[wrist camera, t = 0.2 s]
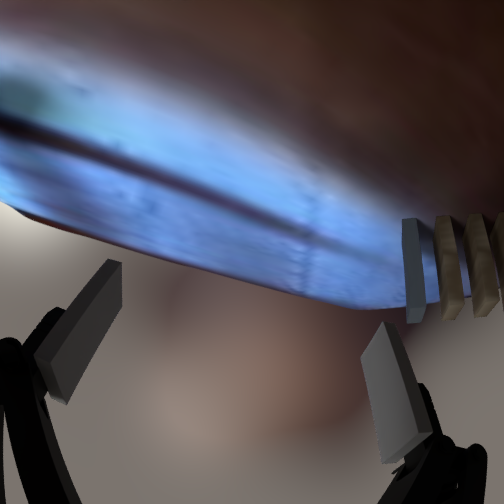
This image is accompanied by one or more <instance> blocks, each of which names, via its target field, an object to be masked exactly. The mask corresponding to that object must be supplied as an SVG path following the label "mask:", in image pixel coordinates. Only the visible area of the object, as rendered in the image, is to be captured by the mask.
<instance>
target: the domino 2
mask: <svg viewBox="0 0 504 504" xmlns="http://www.w3.org/2000/svg"><path fill="white" fill-rule="evenodd" d="M432 241H433V247H434V254H435V261H436V268H437V276H438V285H439V295H440V307H441V320H442V321H446V320H455V318H456V317H457V315H458V314H459V312H460V311H461V309H462V308H463V306H464V304H465V302H464V293H463V285H462V278H461V271H460V265H459V259H458V253H457V248H456V243H455V238H454V233H453V228H452V223H451V219H450V216H437V217H436V223H435V229H434V235H433V240H432Z"/></svg>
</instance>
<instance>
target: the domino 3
mask: <svg viewBox="0 0 504 504" xmlns="http://www.w3.org/2000/svg"><path fill="white" fill-rule="evenodd" d="M462 241H463V246H464V251H465V256H466V262H467V268H468V274H469V280H470V287H471V295H472V302H473V312H474V318H476V317H485V316H487V315H488V314H489V313H490V311H491V310H492V309H493V308H494V307H495V305H496V304H497V303H498V302H499V301H500V297H499V291H498V285H497V279H496V273H495V268H494V263H493V258H492V254H491V249H490V245H489V241H488V237H487V233H486V229H485V225H484V221H483V218H482V214H481V213H480V214H469V216H468V219H467V223H466V226H465V230H464V233H463V236H462Z"/></svg>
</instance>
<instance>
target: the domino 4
mask: <svg viewBox="0 0 504 504" xmlns="http://www.w3.org/2000/svg"><path fill="white" fill-rule="evenodd" d="M490 240H491V244H492V249H493V253H494V258H495V262H496V267H497V272H498V278H499V284H500V289H501V296H502V303H503V310H504V212H499V213H498V216H497V219H496V221H495V224H494V226H493V229H492V231H491V234H490Z"/></svg>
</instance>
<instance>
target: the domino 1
mask: <svg viewBox="0 0 504 504" xmlns="http://www.w3.org/2000/svg"><path fill="white" fill-rule="evenodd" d="M402 251H403V262H404V274H405V288H406V308H407V323H420V322H421V321H422V318H423V315H424V312H425V309H426V296H425V284H424V273H423V264H422V256H421V248H420V241H419V234H418V227H417V221H416V218H410V219H402Z"/></svg>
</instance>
